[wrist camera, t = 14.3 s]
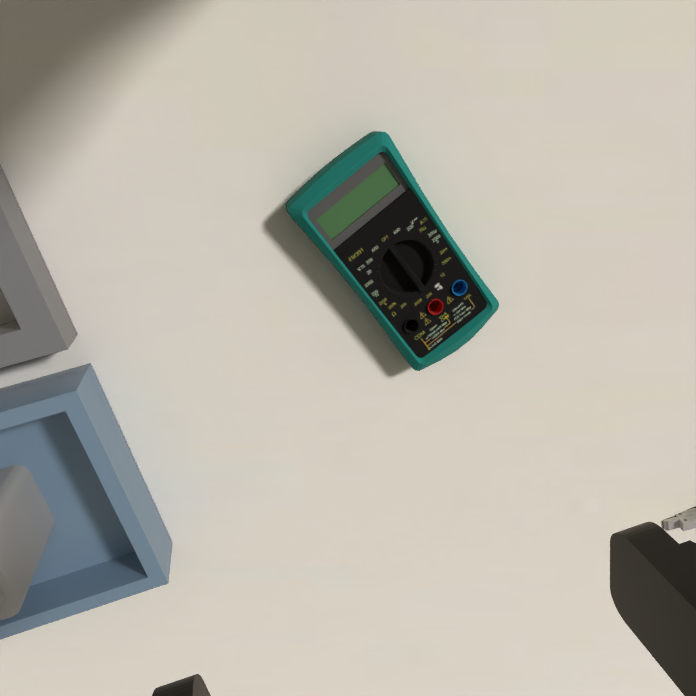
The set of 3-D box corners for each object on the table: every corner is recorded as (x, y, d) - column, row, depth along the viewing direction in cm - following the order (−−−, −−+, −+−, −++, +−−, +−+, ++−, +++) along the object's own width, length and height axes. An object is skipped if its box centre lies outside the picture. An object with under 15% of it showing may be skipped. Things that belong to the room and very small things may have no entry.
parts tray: (-164, 435, 33) (-212, 473, 29) (90, 363, 35) (76, 390, 31) (-39, 611, 39) (-65, 661, 35) (172, 542, 41) (168, 583, 37)
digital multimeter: (410, 366, 40) (424, 383, 38) (279, 202, 34) (284, 208, 31) (490, 302, 40) (510, 314, 37) (372, 124, 34) (385, 124, 31)
